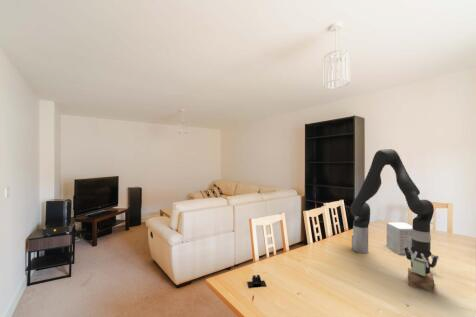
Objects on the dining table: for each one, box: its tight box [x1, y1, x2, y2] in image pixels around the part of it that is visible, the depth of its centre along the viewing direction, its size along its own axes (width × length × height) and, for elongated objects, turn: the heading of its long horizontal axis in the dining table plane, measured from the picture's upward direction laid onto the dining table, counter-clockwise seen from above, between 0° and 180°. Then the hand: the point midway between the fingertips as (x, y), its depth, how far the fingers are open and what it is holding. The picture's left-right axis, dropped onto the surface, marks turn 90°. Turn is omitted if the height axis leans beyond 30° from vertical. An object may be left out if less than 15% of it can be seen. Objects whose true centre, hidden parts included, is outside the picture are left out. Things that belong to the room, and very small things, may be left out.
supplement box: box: [386, 222, 413, 256], centre depth 153 cm, size 13×13×18 cm
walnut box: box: [407, 267, 435, 293], centre depth 115 cm, size 10×10×5 cm
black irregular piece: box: [246, 274, 267, 289], centre depth 116 cm, size 12×7×5 cm, turn 97°
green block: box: [411, 258, 427, 276], centre depth 115 cm, size 5×5×6 cm
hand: (420, 271), depth 115 cm, fingers closed on green block, 5 cm apart
